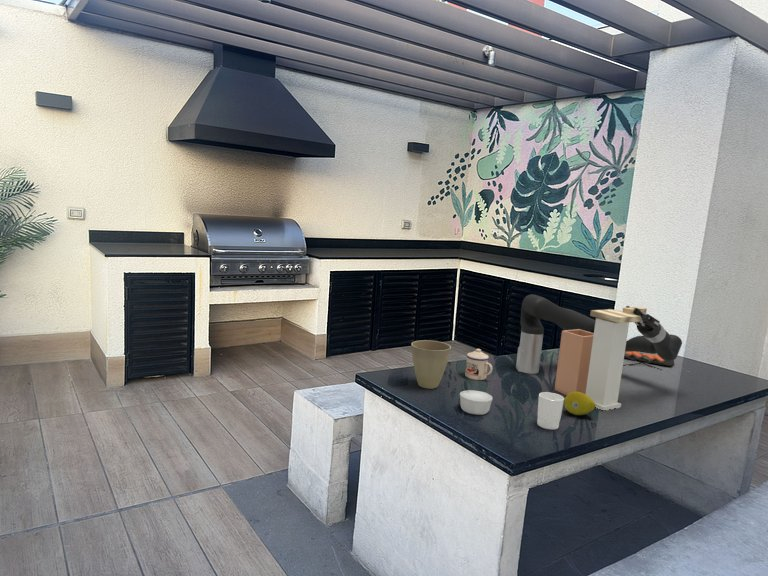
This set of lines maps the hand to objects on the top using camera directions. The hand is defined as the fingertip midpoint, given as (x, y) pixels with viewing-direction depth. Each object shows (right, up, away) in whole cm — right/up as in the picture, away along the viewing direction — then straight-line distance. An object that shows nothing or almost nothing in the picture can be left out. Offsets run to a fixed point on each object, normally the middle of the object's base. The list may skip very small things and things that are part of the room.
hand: (630, 309), depth 206 cm
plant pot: (-74, -30, +7) cm, 81 cm away
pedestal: (-11, -35, +1) cm, 37 cm away
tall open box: (-17, -33, +12) cm, 39 cm away
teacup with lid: (-53, -29, +22) cm, 64 cm away
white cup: (-38, -37, -24) cm, 58 cm away
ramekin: (-60, -34, -15) cm, 71 cm away
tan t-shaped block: (-3, -3, -1) cm, 5 cm away
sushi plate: (+33, -29, +67) cm, 80 cm away
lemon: (-24, -36, -12) cm, 45 cm away
